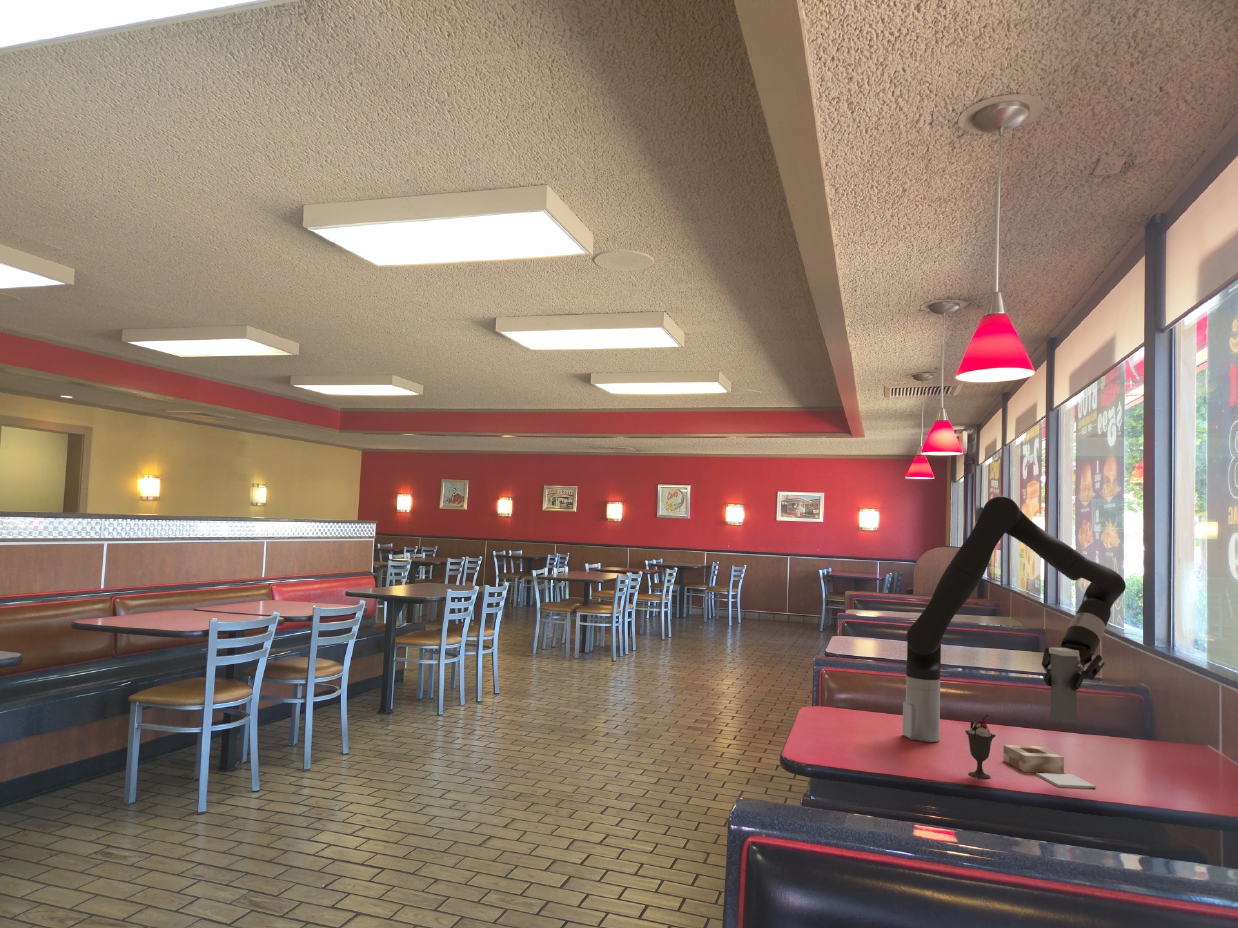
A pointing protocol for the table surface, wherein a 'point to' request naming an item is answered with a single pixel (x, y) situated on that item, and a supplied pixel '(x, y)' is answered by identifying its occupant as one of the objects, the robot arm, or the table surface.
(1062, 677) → the plug
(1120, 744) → the table surface
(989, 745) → the sundae
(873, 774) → the table surface
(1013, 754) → the square wooden socket block
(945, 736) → the table surface
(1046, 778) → the mat
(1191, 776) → the table surface
